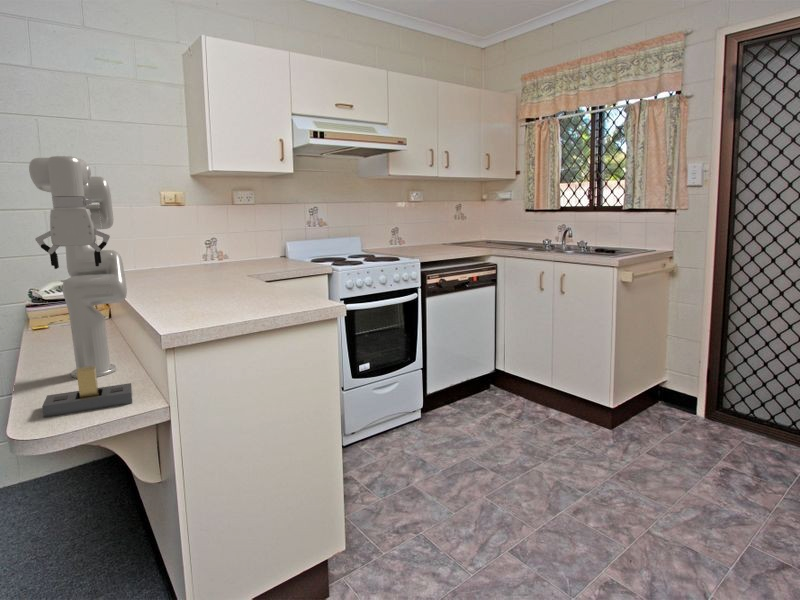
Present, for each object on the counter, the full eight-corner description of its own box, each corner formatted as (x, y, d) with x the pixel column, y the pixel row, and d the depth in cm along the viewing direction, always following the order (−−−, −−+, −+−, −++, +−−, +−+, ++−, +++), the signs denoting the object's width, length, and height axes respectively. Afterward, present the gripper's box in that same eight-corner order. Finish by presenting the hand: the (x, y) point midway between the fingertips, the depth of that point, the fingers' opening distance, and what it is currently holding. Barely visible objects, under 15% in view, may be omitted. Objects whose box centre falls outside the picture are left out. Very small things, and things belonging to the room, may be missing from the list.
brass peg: (82, 403, 142) (77, 368, 140) (99, 401, 144) (95, 365, 142) (81, 408, 138) (76, 372, 137) (98, 405, 140) (94, 369, 138)
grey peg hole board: (48, 406, 141) (47, 395, 140) (132, 393, 149) (131, 382, 149) (43, 417, 133) (42, 406, 132) (132, 403, 141) (131, 392, 141)
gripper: (106, 203, 148) (113, 263, 151) (33, 204, 141) (42, 267, 144) (105, 203, 142) (112, 266, 145) (28, 204, 134) (37, 270, 137)
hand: (77, 267), depth 144 cm, fingers open, 9 cm apart
